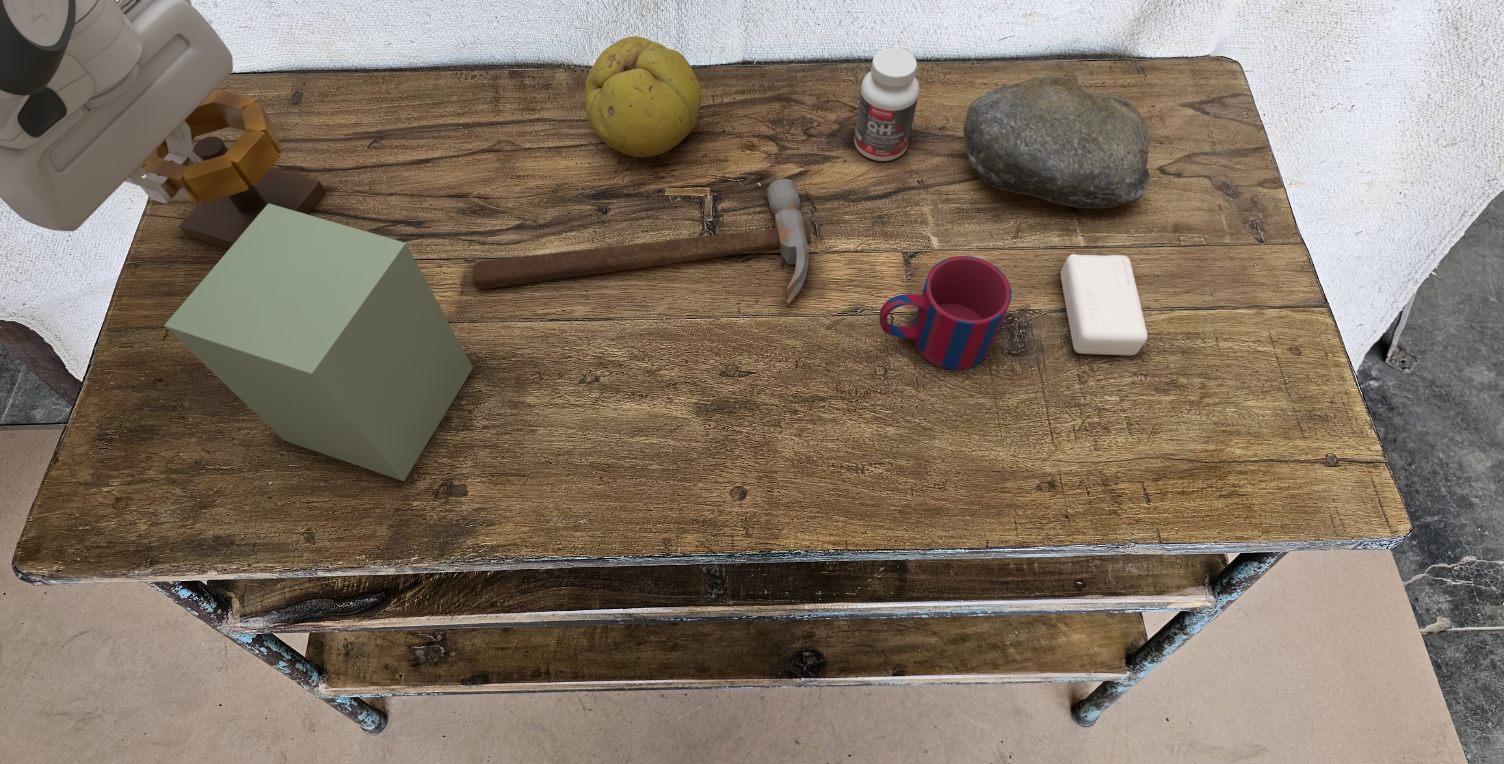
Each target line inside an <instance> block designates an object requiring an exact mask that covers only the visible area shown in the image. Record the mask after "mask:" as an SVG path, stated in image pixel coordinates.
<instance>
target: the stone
mask: <svg viewBox="0 0 1504 764" xmlns="http://www.w3.org/2000/svg"><path fill="white" fill-rule="evenodd" d="M963 137H964V143H965V144H964V147H965V148H964V150H965V153H966V156H967V159H968V161H969V165H970V167H971V168H972V169H973V171H974V172H975V174H976V176H978V178H979V179H980V180H982V181H983V182H984V183H985V184H987V186H989V187H990V188H993V189H997V190H1003V191H1006V192H1011V193H1013V194H1020V195H1029V196H1032V197H1035V198H1038V199H1042V200H1045V201H1048V202H1050V203H1054V204H1057V205H1061V206H1064V207H1065V206H1066V207H1071V208H1078V209H1111V208H1117V207H1119V206H1122V205H1127V204H1130V203H1133V202H1136V201H1138V200H1140V199H1141V198H1142V197H1143V195H1144V193H1145V191H1147V189H1148V187H1149V185H1150V181H1151V174H1150V172H1149V169H1148V168H1147V166H1148V162H1149V161H1148V159H1149V145H1150V139H1149V133H1148V130H1147V127H1146V125H1145V121H1144V119H1143V117H1142V114H1141V112H1140V111H1139V110H1138V108H1137V107H1136V106H1135V105H1134V104H1133V103H1132V102H1131V101H1130V100H1129V99H1127V98H1125V97H1123V96H1121V95H1119V94H1113V93H1112V94H1110V93H1099V94H1091V93H1090V92H1089V91H1086V90H1085V89H1084V88H1082V87H1080V86H1079V85H1078V84H1077V83H1076V82H1075V81H1073V80H1072V79H1070V78H1067V77H1063V76H1053V75H1049V76H1043V77H1040V76H1036V75H1035V76H1032V77H1029V78H1027V79H1024V80H1021V81H1018V82H1017V81H1016V82H1014V83H1010V84H1009V83H1008V84H1006V85H1001V86H998V87H996V88H994V89H992V90H990V91H988V92H987V93H986V94H984V95H982V96H979V97H976V99H974V100H973V101H971V103H970V104H969V106H968V108H967V110H966V115H965V119H964V125H963Z"/></svg>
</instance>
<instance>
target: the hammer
mask: <svg viewBox="0 0 1504 764" xmlns="http://www.w3.org/2000/svg"><path fill="white" fill-rule="evenodd" d="M766 195H767V200H768V204H769V209H770V213H771V214H772V215H773V216H774V227H775V228H774V227H773V228H766V229H757V230H756V229H755V230H748V231H738V232H729V233H721V234H712V235H705V236H704V235H703V236H695V237H685V238H676V239H667V240H658V241H649V242H642V243H640V242H639V243H632V244H623V245H614V246H607V247H606V246H605V247H595V248H588V249H587V248H586V249H578V250H569V251H559V252H550V253H543V254H533V255H523V256H515V257H506V258H497V259H496V258H495V259H491V260H490V259H487V260H480V261H478V262H476V263H475V264H474V265H473V267H472V281H473V285H474V286H475V287H476V288H478V289H480V290H488V289H495V288H496V289H497V288H503V287H511V286H517V285H525V284H532V283H537V282H538V283H540V282H546V281H553V280H560V279H567V278H575V277H583V276H589V275H598V274H604V273H610V272H618V271H625V270H633V269H637V268H638V269H639V268H645V267H646V268H647V267H654V266H662V265H669V264H675V263H683V262H689V261H697V260H705V259H711V258H712V259H713V258H719V257H726V256H732V255H733V256H734V255H739V254H748V253H753V252H762V251H763V252H764V251H770V250H777V249H779V252H780V256H781V257H782V258H783V259H784V260H785V262H786V263H787V265H795V269H794V272H793V275H792V277H791V280H790V282H788V285H787V287H786V294H787V295H789V296H788V299H787V300H786V307H787V308H788V307H789V306H790V305H791V304H792V302H793V301H794V300H795V299H796V298H797V296H798V295H799V293H800V291H801V290H802V288H803V285H804V283H805V280H806V279H807V278H806V277H807V273H808V269H809V263H810V262H809V261H810V260H809V259H810V250H809V245H810V244H811V243H812V233H811V230H810V229H811V228H810V226H809V225H808V224H804V219H803V216H802V211H801V210H800V208H801V206H802V205H801V199H800V195H799V190H798V187H797V184H796V182H795V181H793V180H792V179H788V178H780V179H777V180H774V181H772V182H771V183H769V185H768V187H767V189H766Z"/></svg>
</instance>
